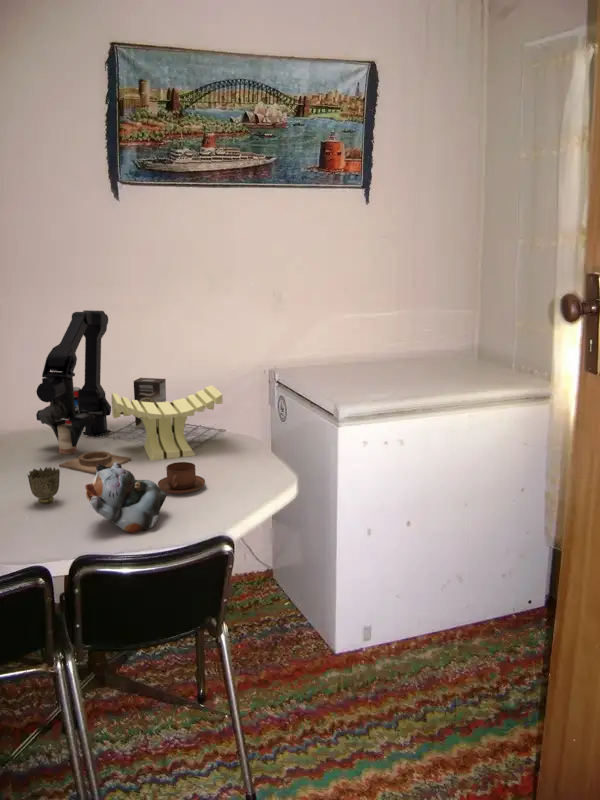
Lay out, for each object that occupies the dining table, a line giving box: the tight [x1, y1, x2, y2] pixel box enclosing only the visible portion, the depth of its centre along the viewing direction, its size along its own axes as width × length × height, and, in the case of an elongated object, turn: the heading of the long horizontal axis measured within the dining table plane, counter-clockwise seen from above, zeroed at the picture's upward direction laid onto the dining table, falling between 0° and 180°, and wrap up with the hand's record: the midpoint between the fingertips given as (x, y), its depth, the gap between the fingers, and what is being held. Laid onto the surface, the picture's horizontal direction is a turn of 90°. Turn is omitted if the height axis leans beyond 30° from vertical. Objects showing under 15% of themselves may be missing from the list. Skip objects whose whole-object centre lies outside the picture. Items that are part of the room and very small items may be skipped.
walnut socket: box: [58, 450, 132, 475], centre depth 212 cm, size 14×14×2 cm
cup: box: [26, 466, 61, 505], centre depth 183 cm, size 8×7×8 cm
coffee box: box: [133, 377, 167, 430], centre depth 248 cm, size 9×6×16 cm
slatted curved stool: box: [111, 385, 224, 461], centre depth 222 cm, size 30×16×18 cm, turn 110°
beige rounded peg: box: [57, 423, 78, 455], centre depth 222 cm, size 5×5×8 cm
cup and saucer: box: [157, 461, 206, 495], centre depth 192 cm, size 12×12×6 cm
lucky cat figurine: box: [85, 462, 167, 534], centre depth 170 cm, size 17×14×16 cm
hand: (67, 445), depth 223 cm, fingers closed on beige rounded peg, 5 cm apart
